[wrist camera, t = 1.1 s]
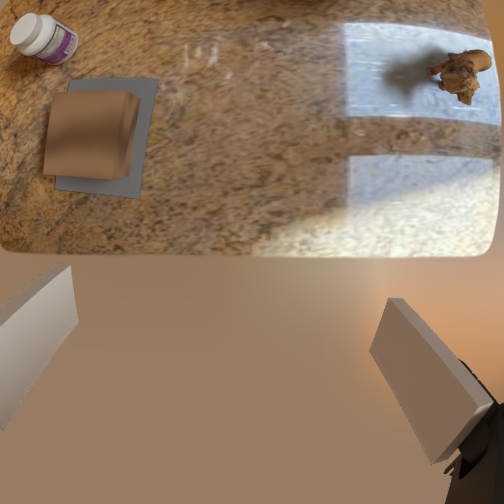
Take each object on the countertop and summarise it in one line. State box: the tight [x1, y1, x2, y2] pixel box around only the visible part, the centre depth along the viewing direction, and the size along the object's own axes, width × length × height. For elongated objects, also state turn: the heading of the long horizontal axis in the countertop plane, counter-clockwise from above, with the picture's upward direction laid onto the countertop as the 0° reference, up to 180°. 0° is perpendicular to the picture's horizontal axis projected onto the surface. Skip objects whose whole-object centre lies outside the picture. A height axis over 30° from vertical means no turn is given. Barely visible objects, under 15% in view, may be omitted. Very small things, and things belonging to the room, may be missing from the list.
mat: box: [55, 78, 159, 199], centre depth 29 cm, size 14×12×1 cm
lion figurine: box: [427, 50, 492, 105], centre depth 24 cm, size 15×5×9 cm, turn 136°
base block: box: [43, 90, 141, 180], centre depth 27 cm, size 9×9×5 cm
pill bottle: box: [10, 13, 78, 65], centre depth 20 cm, size 5×5×10 cm
